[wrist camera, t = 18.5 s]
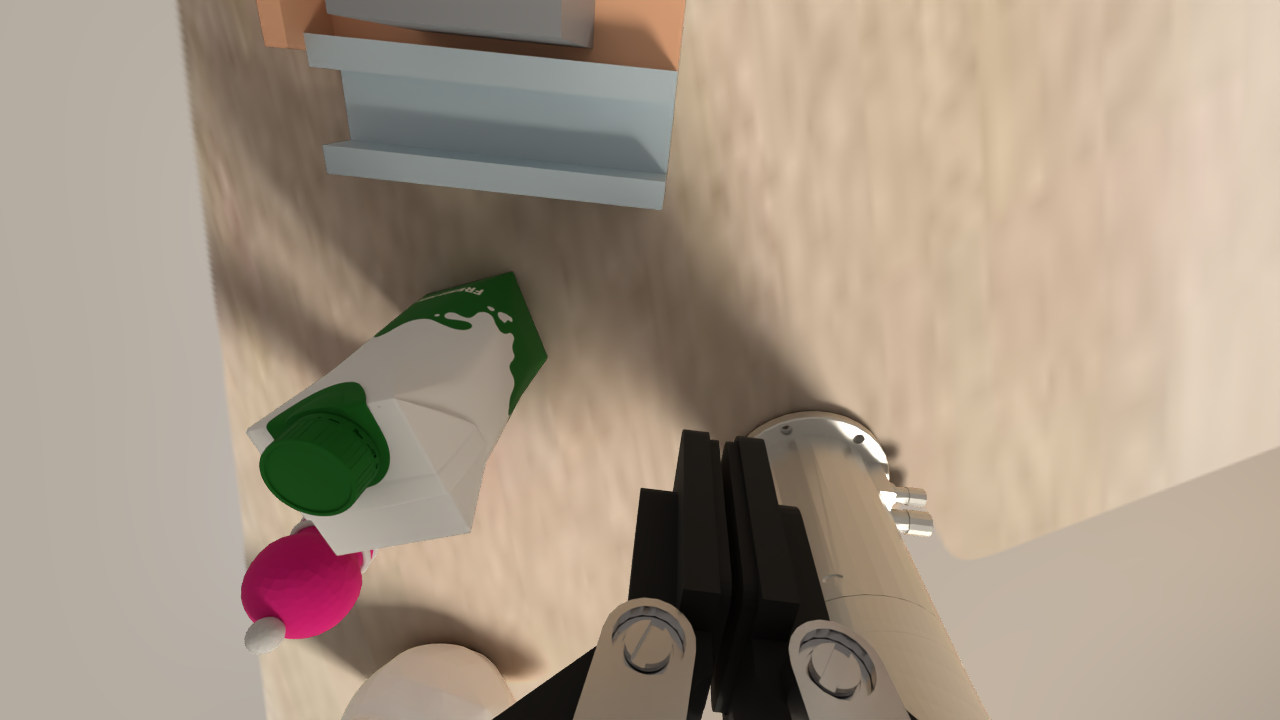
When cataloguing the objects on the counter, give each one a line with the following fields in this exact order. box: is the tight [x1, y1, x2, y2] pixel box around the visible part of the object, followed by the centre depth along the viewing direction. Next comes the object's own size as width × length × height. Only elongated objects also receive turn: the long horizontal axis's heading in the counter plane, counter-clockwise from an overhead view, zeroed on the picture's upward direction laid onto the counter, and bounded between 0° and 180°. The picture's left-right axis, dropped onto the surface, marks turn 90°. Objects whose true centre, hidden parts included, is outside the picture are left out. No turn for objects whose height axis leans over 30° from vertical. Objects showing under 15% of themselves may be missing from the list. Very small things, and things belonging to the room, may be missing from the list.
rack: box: [256, 0, 686, 210], centre depth 29 cm, size 21×18×6 cm
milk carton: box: [246, 271, 548, 555], centre depth 32 cm, size 9×9×20 cm
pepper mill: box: [241, 517, 378, 655], centre depth 36 cm, size 7×7×20 cm
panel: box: [325, 0, 595, 49], centre depth 26 cm, size 10×2×9 cm, turn 85°
